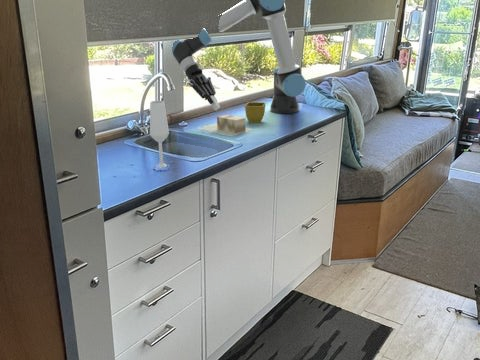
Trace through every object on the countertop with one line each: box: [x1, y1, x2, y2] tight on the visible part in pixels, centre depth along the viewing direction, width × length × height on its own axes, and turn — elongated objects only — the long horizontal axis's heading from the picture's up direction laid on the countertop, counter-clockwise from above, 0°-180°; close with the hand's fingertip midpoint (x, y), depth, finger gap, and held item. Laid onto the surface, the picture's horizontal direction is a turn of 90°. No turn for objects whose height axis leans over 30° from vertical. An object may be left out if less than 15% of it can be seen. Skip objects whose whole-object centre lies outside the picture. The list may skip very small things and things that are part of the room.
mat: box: [195, 123, 255, 137], centre depth 231 cm, size 22×16×1 cm
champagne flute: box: [149, 100, 170, 168], centre depth 176 cm, size 7×7×24 cm
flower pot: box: [244, 101, 266, 124], centre depth 243 cm, size 9×9×9 cm
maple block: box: [216, 114, 246, 135], centre depth 227 cm, size 6×6×12 cm
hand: (217, 108), depth 231 cm, fingers closed
